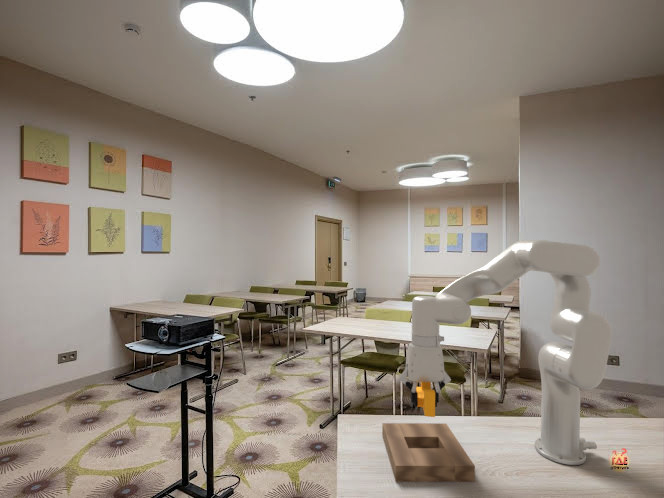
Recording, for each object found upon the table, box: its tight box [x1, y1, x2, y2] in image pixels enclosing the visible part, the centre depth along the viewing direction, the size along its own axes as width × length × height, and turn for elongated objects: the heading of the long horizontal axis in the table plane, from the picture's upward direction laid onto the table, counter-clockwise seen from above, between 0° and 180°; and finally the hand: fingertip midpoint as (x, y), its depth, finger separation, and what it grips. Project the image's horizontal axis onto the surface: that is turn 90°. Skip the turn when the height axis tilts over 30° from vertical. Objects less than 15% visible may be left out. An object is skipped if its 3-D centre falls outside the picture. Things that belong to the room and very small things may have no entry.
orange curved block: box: [416, 382, 436, 418], centre depth 103 cm, size 12×4×6 cm, turn 171°
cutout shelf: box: [381, 422, 476, 483], centre depth 103 cm, size 20×22×4 cm
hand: (424, 404), depth 103 cm, fingers closed on orange curved block, 4 cm apart
